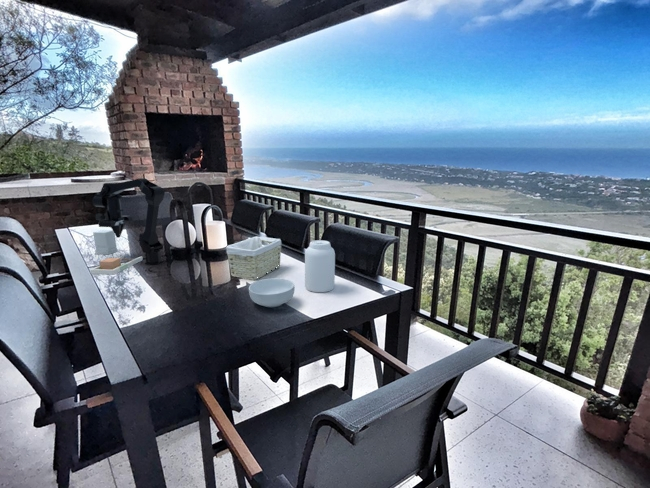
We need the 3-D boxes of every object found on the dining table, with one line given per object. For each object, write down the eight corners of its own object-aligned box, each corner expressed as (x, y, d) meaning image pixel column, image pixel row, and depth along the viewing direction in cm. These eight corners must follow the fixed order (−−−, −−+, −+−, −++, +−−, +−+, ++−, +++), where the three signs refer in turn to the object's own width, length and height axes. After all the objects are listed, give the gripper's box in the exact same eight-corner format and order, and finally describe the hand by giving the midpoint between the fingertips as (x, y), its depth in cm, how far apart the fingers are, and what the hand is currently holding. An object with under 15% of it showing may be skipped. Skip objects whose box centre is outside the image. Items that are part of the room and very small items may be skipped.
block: (121, 268, 164) (120, 258, 162) (113, 271, 158) (111, 261, 157) (109, 267, 164) (108, 257, 163) (101, 271, 158) (99, 261, 157)
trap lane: (142, 259, 177) (142, 256, 176) (113, 274, 154) (113, 270, 153) (122, 259, 177) (122, 255, 177) (90, 273, 154) (89, 269, 154)
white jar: (308, 294, 134) (308, 246, 129) (302, 283, 146) (302, 239, 141) (338, 291, 137) (339, 244, 133) (329, 281, 149) (330, 237, 144)
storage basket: (255, 282, 147) (254, 250, 143) (226, 276, 153) (224, 245, 150) (283, 267, 168) (282, 238, 165) (256, 263, 175) (255, 235, 171)
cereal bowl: (274, 291, 137) (273, 274, 135) (303, 301, 127) (303, 284, 125) (240, 304, 124) (239, 286, 123) (270, 317, 114) (269, 298, 112)
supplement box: (117, 251, 192) (114, 229, 189) (108, 254, 185) (105, 232, 182) (105, 250, 193) (102, 229, 190) (96, 254, 186) (92, 232, 183)
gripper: (110, 205, 180) (114, 233, 183) (85, 209, 161) (90, 241, 165) (131, 205, 179) (134, 233, 183) (108, 210, 161) (112, 241, 165)
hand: (118, 237), depth 174 cm, fingers closed
